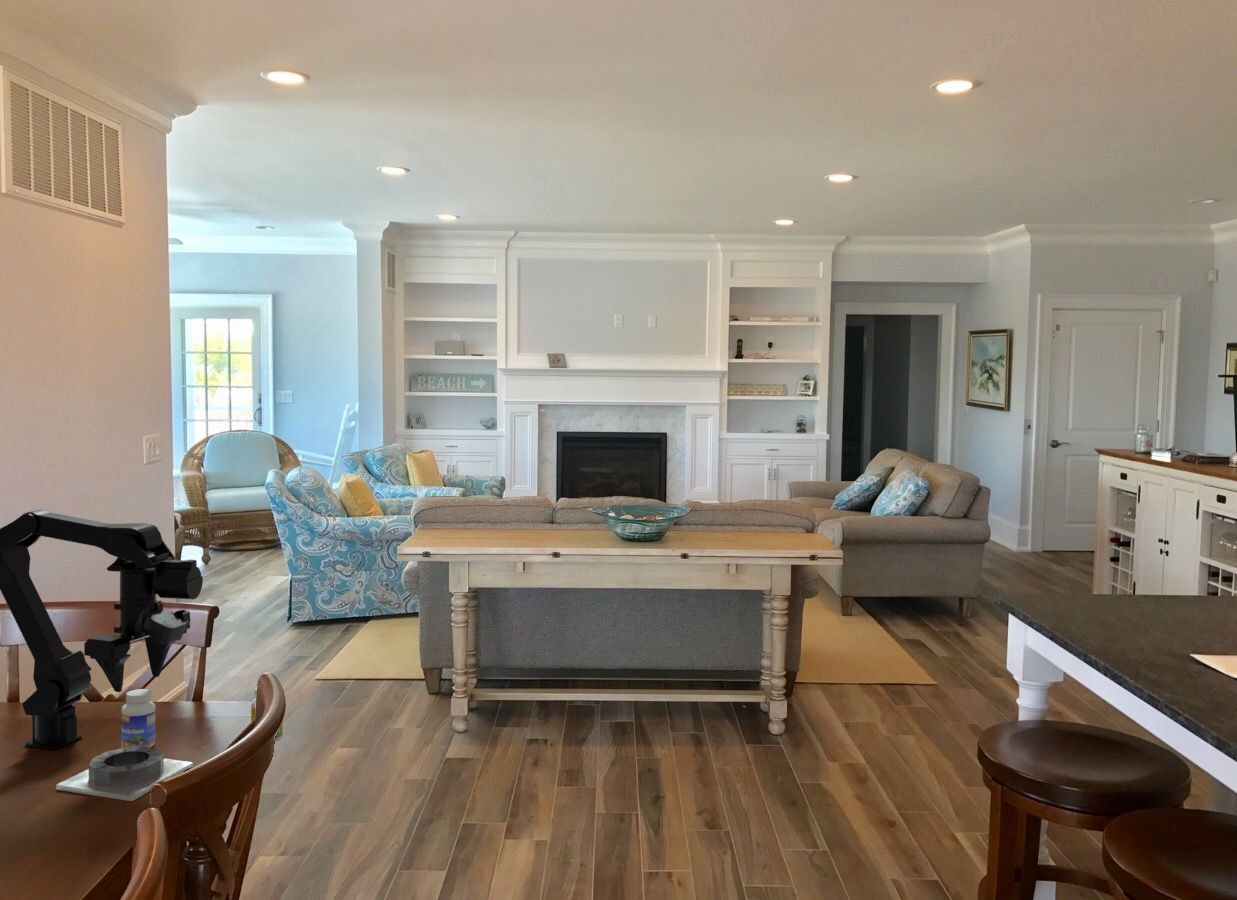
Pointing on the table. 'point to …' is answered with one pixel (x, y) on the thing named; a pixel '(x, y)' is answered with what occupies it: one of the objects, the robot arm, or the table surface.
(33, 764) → the table surface
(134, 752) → the collar
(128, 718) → the pill bottle
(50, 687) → the robot arm
